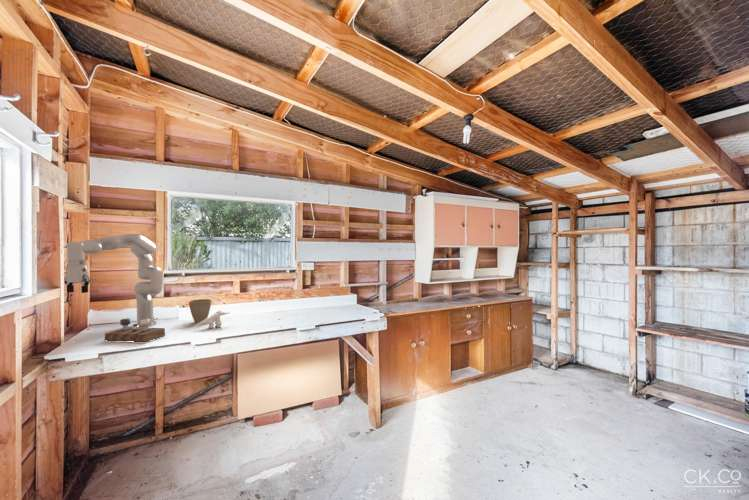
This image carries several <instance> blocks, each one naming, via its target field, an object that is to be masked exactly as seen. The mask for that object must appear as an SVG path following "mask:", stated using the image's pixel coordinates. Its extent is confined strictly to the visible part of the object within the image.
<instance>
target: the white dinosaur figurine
mask: <svg viewBox="0 0 749 500" xmlns="http://www.w3.org/2000/svg"><path fill="white" fill-rule="evenodd" d="M230 313H231V312H230V311H229V312H225V311H222V310H220V309H219V310H217V311H216V312H215V313H213V314H211V315H210V316H208V317H207V318H206V319H205V320H203V321H202V322H200V323H196V324H194V326H193V328H194V327H200V326H203V325H208V328H209V329H213V328H214V325H215V327H217V328H221V327H222V321H221V316H224V315H228V314H230Z"/></svg>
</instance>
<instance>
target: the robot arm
mask: <svg viewBox="0 0 749 500" xmlns="http://www.w3.org/2000/svg"><path fill="white" fill-rule="evenodd" d="M66 243H67V244H66V255H67V256H66V258H67V260H66V261H67V262H66V263H67V266H66V274H65V277H63V278H64V280H63V282H64V284H65V287H66V293H74V291H75V290H74V289H75V288H74V284H75V283H76V284H81V287H80V288H81V293H82V294H84V293H89V285H90V284H91V280H92V278H91V277H90V275H89V269H88V267H87V265H86V255H96V254H99V253H100V252H102V251H114V250H117V249H118V250H119V249H123V248H126V247H127V248H128V247H130V248H129V249H130V251H131V253H132V254H134V255H135V257H137V261H138V264H137V265H138V266H137V268H138V270H137V277H138V278H139V280H143V281H139V282H137V283H136V284H135V285H134V293H135V298H136V299H135V300H136V301H135V302H136V320H137V321H136V324H138V327H141V328H143V326H141V323H140V320H143V319H150V324H149V325H148V327H150V326H154V325H156V324H157V321H156V320H158V319H159V317H158V316H154V301H153V297H152V296H156V295H159V294H160V293H161V292H162V290H163V283H164V282H163V281H164V280H163V279H164V273H163V270H162V268H161V267H159V266H154V259H153V257H152V255H153V254H155V253H156V252H157V246H156V244H155V243H154V242H153V241H151V240H150V239H148V238H147V237H145V236H144V235H142V234H140V233H124V234H119V235H114V236H107V237H101V238H94V239H88V240H86V239H85V240H82V241H69V242H66ZM144 280H146V281H144ZM148 280H149V281H148Z"/></svg>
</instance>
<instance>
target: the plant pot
mask: <svg viewBox="0 0 749 500" xmlns="http://www.w3.org/2000/svg"><path fill="white" fill-rule="evenodd" d="M188 305H189V310H190V315H191V317H192V319H193V321H194V323H196V324H198V323H200V322H202V321H203V320H205V319H206V318H209V314H210V310H211V306H212V299H210V298H209V299H208V298H207V299H206V298H205V299H204V298H202V299H193V300H189V301H188Z"/></svg>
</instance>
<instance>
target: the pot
mask: <svg viewBox="0 0 749 500" xmlns="http://www.w3.org/2000/svg"><path fill="white" fill-rule="evenodd" d="M131 327H132V331H138V330H139V328H138V324H137V323H134V324H133V325H132V326H131Z"/></svg>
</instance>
